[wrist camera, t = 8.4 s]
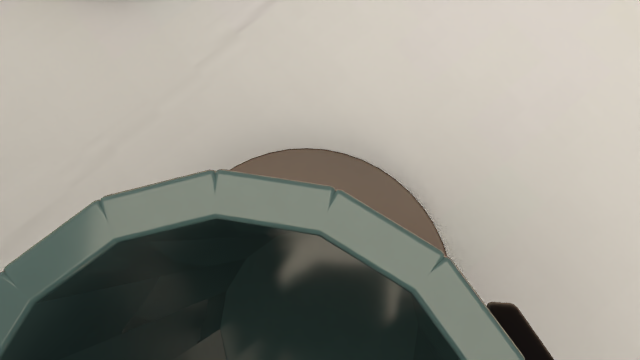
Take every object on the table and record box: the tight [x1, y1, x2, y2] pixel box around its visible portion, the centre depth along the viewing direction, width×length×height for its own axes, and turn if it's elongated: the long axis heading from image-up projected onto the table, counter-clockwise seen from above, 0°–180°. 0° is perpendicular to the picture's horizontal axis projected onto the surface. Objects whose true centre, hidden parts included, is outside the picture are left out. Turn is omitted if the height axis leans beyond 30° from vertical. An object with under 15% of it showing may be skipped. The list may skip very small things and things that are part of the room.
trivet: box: [231, 148, 447, 256], centre depth 21 cm, size 11×11×1 cm
